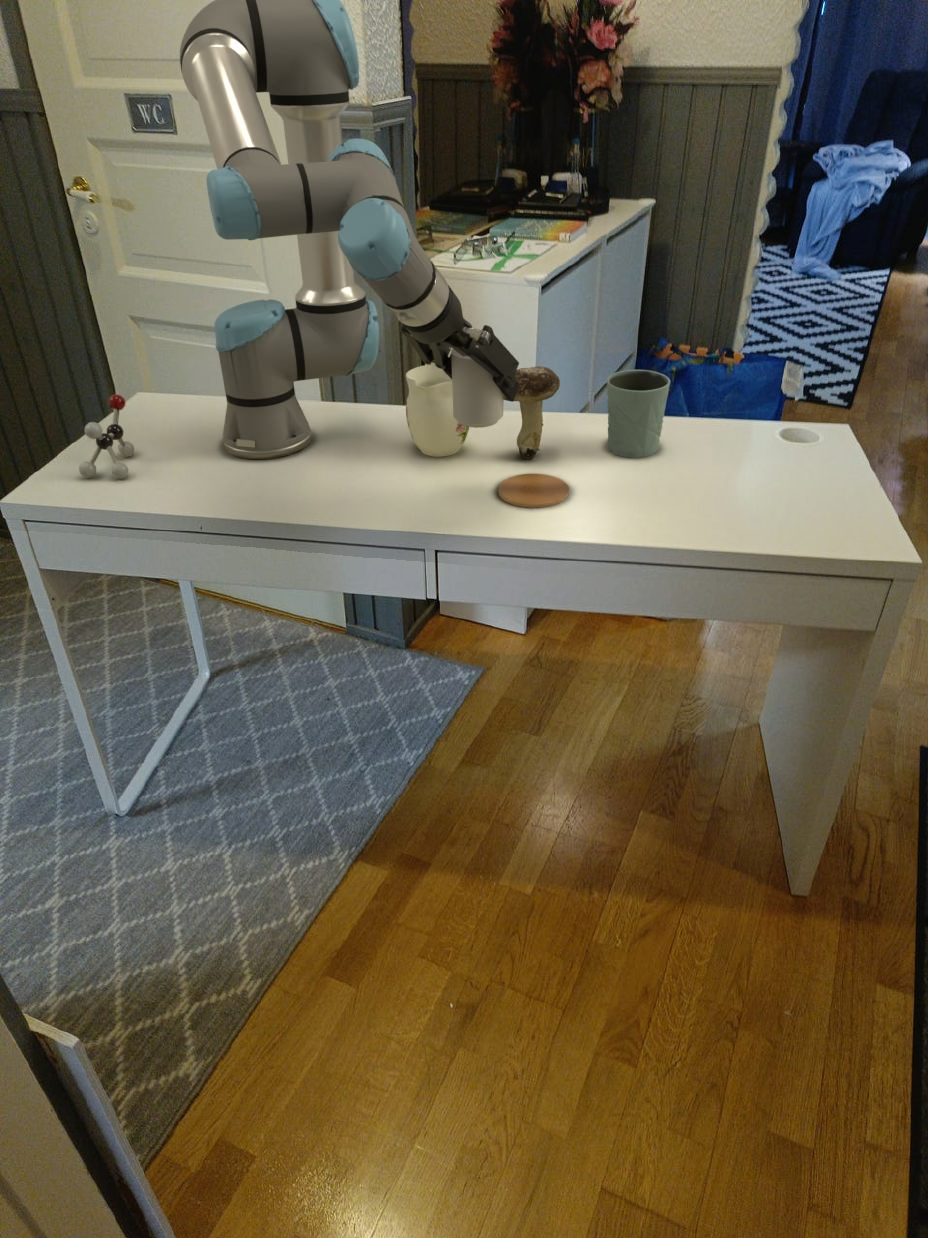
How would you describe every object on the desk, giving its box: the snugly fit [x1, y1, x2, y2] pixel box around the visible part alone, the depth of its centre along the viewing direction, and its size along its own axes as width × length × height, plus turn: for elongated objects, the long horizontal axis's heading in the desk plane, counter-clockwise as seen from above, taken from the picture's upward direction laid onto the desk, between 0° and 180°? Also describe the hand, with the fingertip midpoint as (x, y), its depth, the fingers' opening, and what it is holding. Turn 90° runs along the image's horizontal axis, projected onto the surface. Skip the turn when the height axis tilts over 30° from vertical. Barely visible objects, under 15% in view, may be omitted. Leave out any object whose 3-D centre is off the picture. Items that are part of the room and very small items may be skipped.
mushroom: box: [503, 366, 561, 460], centre depth 144 cm, size 9×9×15 cm
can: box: [450, 338, 504, 429], centre depth 127 cm, size 8×8×12 cm
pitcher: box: [405, 363, 470, 458], centre depth 149 cm, size 11×18×14 cm, turn 165°
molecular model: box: [78, 393, 135, 480], centre depth 146 cm, size 8×12×11 cm
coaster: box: [497, 473, 570, 509], centre depth 137 cm, size 11×11×1 cm
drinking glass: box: [606, 369, 671, 459], centre depth 147 cm, size 10×10×12 cm
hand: (490, 388), depth 131 cm, fingers closed on can, 7 cm apart
